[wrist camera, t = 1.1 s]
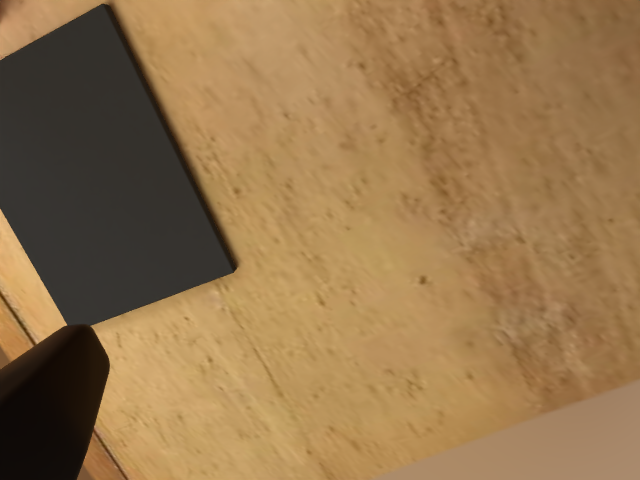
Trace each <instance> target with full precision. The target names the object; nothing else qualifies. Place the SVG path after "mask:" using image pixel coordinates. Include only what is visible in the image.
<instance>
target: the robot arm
mask: <svg viewBox="0 0 640 480" xmlns="http://www.w3.org/2000/svg"><path fill="white" fill-rule="evenodd" d="M109 369H110V363H109V358H108V355H107V354H106V352H105V350H104V348H103V346H102V344H101V343H100V341H99V339H98V337H97V335H96V333H95V332H94V330H93V329H92V327H90V326H89V325H86V324H77V325H68V326H64V327H62V328H61V329H59V330H58V331H56V332H55V333H53V334H52V335H50V336H49V337H47V338H46V339H44V340H43V341H41V342H40V343H39V344H37V345H36V346H34V347H33V348H31V349H30V350H28V351H27V352H25V353H24V354H22V355H21V356H19V357H18V358H17V359H15V360H14V361H12V362H11V363H9V364H8V365H6V366H5V367H3V368H2V369H0V480H77V477H78V475H79V472H80V469H81V467H82V464H83V461H84V459H85V456H86V453H87V450H88V447H89V443H90V440H91V437H92V433H93V429H94V426H95V422H96V418H97V415H98V411H99V407H100V404H101V400H102V396H103V393H104V389H105V385H106V382H107V378H108V374H109Z"/></svg>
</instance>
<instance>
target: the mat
mask: <svg viewBox="0 0 640 480" xmlns="http://www.w3.org/2000/svg"><path fill="white" fill-rule="evenodd" d="M0 209H1V210H2V212H3V214H4V216H5V217H6V219H7V221H8V223H9V224H10V226H11V228H12V230H13V231H14V233H15V235H16V236H17V238H18V240H19V242H20V243H21V245H22V247H23V249H24V250H25V252H26V254H27V256H28V257H29V259H30V261H31V263H32V264H33V266H34V268H35V269H36V271H37V273H38V275H39V276H40V278H41V280H42V282H43V283H44V285H45V287H46V289H47V290H48V292H49V294H50V296H51V297H52V299H53V301H54V302H55V304H56V306H57V308H58V309H59V311H60V313H61V315H62V316H63V318H64V320H65V322H66V323H67V325H77V324H86V325H89V326H91V325H94V324H97V323H99V322H102V321H105V320H107V319H110V318H113V317H115V316H118V315H121V314H123V313H126V312H129V311H132V310H134V309H137V308H140V307H142V306H145V305H148V304H150V303H153V302H156V301H158V300H161V299H164V298H167V297H169V296H172V295H175V294H177V293H180V292H183V291H185V290H188V289H191V288H193V287H196V286H199V285H201V284H204V283H207V282H210V281H212V280H215V279H218V278H220V277H223V276H226V275H228V274H231V273H234V271H235V270H236V269H237V268H236V266H235V264H234V262H233V260H232V258H231V256H230V253H229V251H228V249H227V247H226V245H225V243H224V241H223V239H222V237H221V235H220V233H219V231H218V229H217V227H216V225H215V223H214V220H213V218H212V216H211V214H210V212H209V210H208V208H207V206H206V204H205V202H204V200H203V198H202V196H201V194H200V192H199V190H198V187H197V185H196V183H195V181H194V179H193V177H192V175H191V173H190V171H189V169H188V167H187V165H186V163H185V161H184V159H183V157H182V154H181V152H180V150H179V148H178V146H177V144H176V142H175V140H174V138H173V136H172V134H171V132H170V130H169V128H168V126H167V124H166V121H165V119H164V117H163V115H162V113H161V111H160V109H159V107H158V105H157V103H156V101H155V99H154V97H153V95H152V93H151V91H150V88H149V86H148V84H147V82H146V80H145V78H144V76H143V74H142V72H141V70H140V68H139V66H138V64H137V62H136V60H135V58H134V55H133V53H132V51H131V49H130V47H129V45H128V43H127V41H126V39H125V37H124V35H123V33H122V31H121V29H120V27H119V24H118V22H117V20H116V18H115V16H114V14H113V12H112V10H111V8H110V6H109V5H107V4H101V5H99V6H98V7H96V8H94V9H92V10H90V11H89V12H87V13H85V14H83V15H81V16H79V17H78V18H76V19H74V20H72V21H70V22H69V23H67V24H65V25H63V26H61V27H60V28H58V29H56V30H54V31H52V32H50V33H49V34H47V35H45V36H43V37H41V38H40V39H38V40H36V41H34V42H32V43H30V44H29V45H27V46H25V47H23V48H21V49H20V50H18V51H16V52H14V53H12V54H11V55H9V56H7V57H5V58H3V59H1V60H0Z"/></svg>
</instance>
